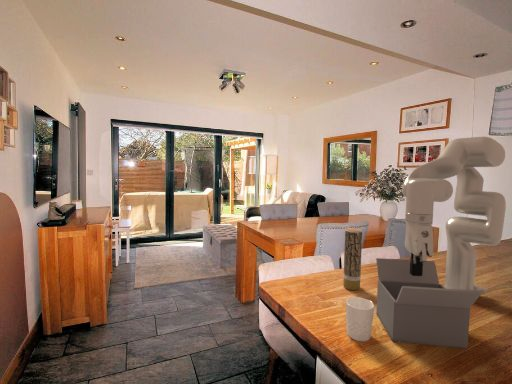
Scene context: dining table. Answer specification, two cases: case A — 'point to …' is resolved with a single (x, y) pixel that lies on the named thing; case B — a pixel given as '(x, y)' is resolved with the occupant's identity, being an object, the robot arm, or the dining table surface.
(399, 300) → the flap
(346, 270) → the paper tube
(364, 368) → the dining table surface
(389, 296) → the carton
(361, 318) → the white cup
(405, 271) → the flap
